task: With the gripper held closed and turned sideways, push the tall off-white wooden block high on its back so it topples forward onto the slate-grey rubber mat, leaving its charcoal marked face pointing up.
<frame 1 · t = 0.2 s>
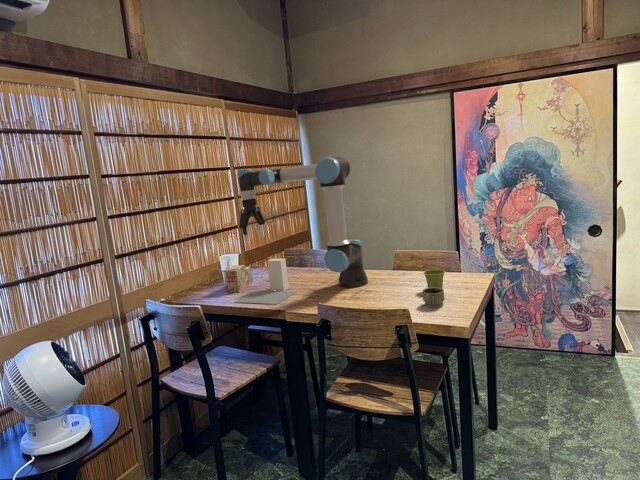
hand: (254, 238, 227), 27 cm above the table, tool pointing down, fingers open, 13 cm apart
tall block: (279, 289, 225), on the table
plant pot: (435, 290, 197), on the table
rubber mat: (266, 297, 213), on the table
multicoloured rectangular box: (241, 287, 238), on the table
vessel: (434, 305, 178), on the table
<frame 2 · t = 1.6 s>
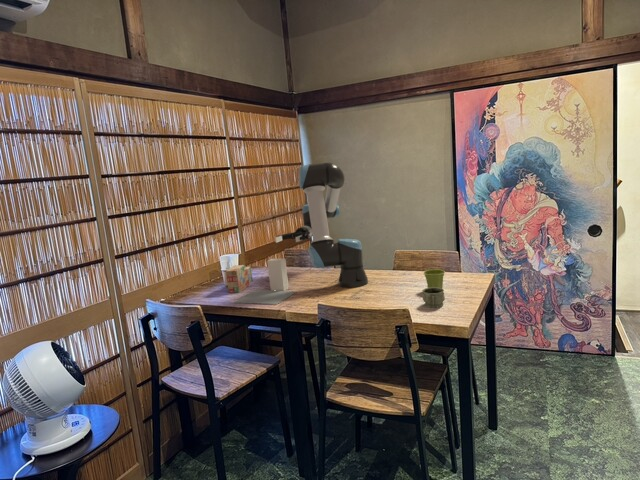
hand: (285, 240, 232), 24 cm above the table, tool horizontal, fingers open, 12 cm apart
nothing on the table moved.
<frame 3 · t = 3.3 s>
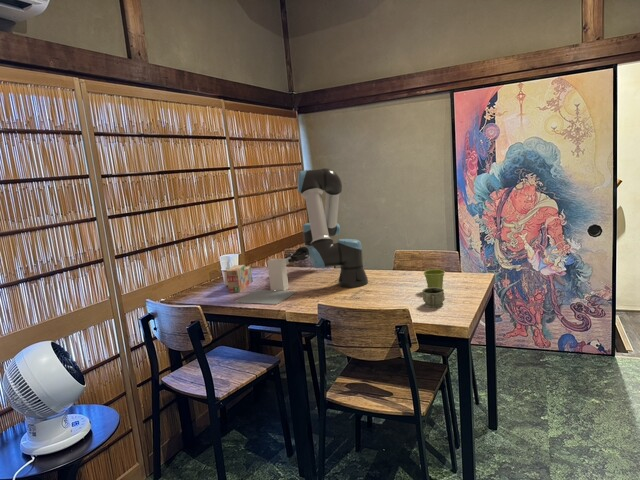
hand: (284, 262, 230), 13 cm above the table, tool horizontal, fingers closed
nothing on the table moved.
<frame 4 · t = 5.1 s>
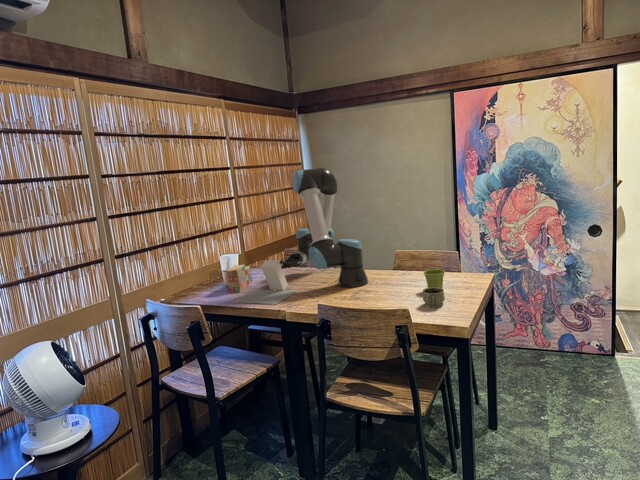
hand: (275, 269, 223), 11 cm above the table, tool horizontal, fingers closed
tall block: (279, 287, 225), point 1 cm above the table, tilted 24°
everything else where it was.
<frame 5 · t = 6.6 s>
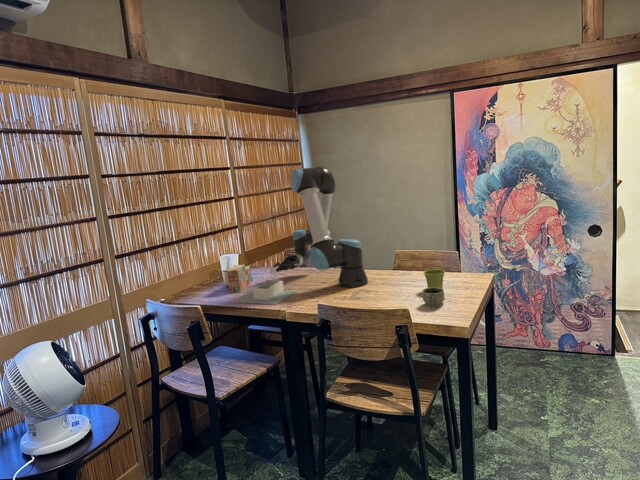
hand: (271, 271, 218), 11 cm above the table, tool horizontal, fingers closed
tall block: (276, 285, 222), point 3 cm above the table, tilted 90°, touching rubber mat
everything else where it was.
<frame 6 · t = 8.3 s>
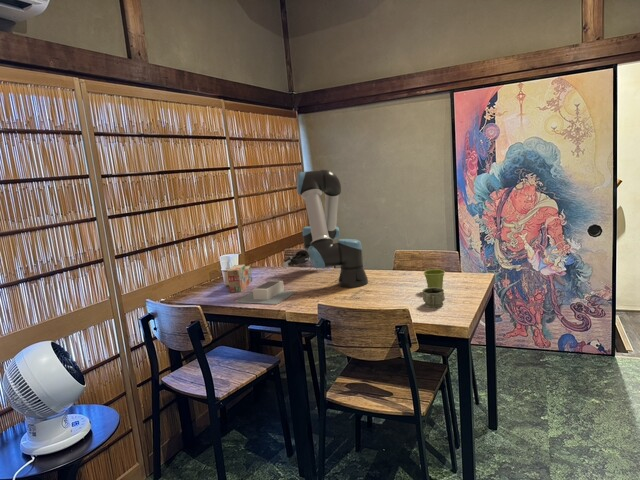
hand: (284, 265, 230), 11 cm above the table, tool horizontal, fingers closed
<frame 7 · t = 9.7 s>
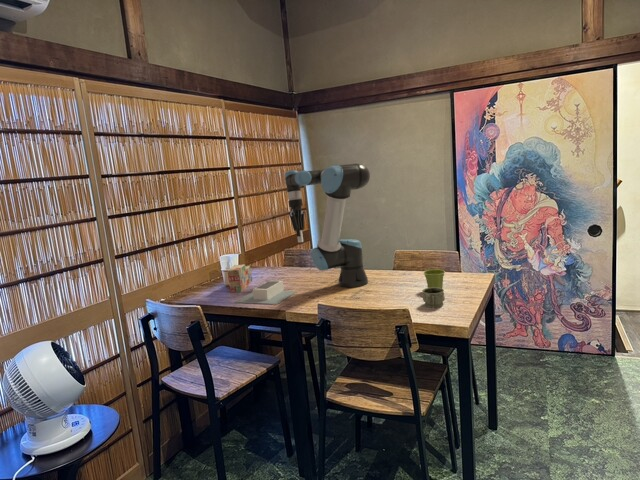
hand: (300, 242, 235), 22 cm above the table, tool pointing down, fingers closed
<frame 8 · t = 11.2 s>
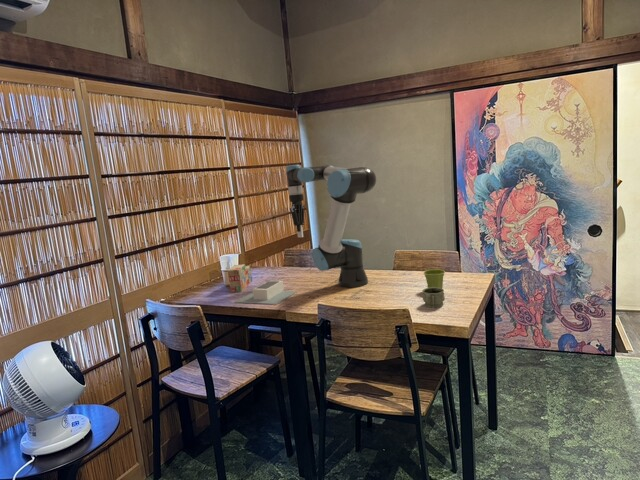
hand: (300, 237, 235), 24 cm above the table, tool pointing down, fingers closed
at the end: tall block tilted 90°; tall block touching rubber mat; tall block inside the target area (1.5 cm from its centre), point 2.9 cm above the table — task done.
